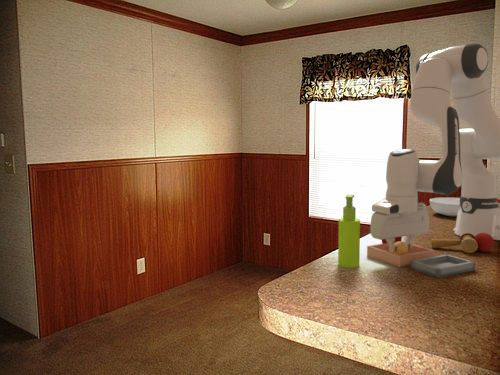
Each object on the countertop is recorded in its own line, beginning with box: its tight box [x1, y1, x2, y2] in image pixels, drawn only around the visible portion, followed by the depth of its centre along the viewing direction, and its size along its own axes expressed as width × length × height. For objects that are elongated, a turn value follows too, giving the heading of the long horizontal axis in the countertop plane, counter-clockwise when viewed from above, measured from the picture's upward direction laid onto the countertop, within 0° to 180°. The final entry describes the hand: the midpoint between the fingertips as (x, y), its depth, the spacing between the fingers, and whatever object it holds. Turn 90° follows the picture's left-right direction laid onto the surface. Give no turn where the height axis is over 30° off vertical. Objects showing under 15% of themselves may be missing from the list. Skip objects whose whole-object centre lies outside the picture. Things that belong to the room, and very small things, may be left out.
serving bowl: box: [429, 197, 461, 218], centre depth 199 cm, size 21×21×7 cm
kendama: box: [430, 233, 495, 254], centre depth 137 cm, size 8×6×18 cm
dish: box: [366, 240, 436, 268], centre depth 128 cm, size 13×13×3 cm
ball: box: [394, 241, 408, 255], centre depth 128 cm, size 4×4×4 cm
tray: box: [410, 253, 476, 279], centre depth 117 cm, size 14×9×2 cm, turn 116°
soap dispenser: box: [337, 194, 361, 269], centre depth 122 cm, size 6×7×20 cm
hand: (400, 250), depth 128 cm, fingers closed on ball, 4 cm apart
